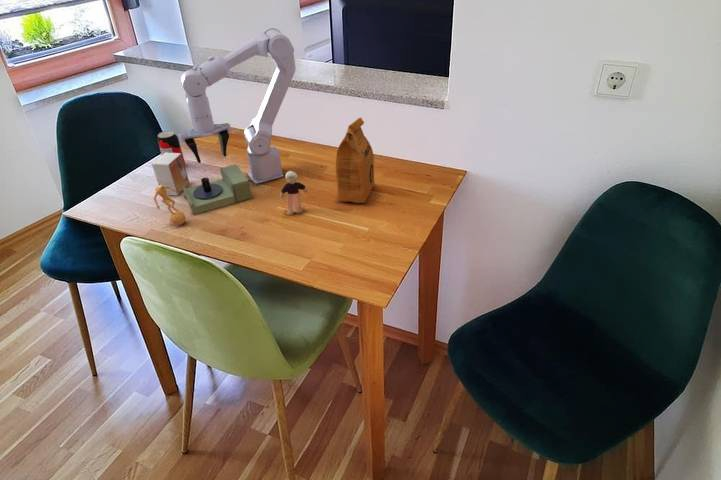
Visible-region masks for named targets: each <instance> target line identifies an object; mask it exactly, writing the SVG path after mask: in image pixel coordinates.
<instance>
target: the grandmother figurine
mask: <svg viewBox="0 0 721 480" xmlns="http://www.w3.org/2000/svg"><path fill="white" fill-rule="evenodd" d="M298 177H299V176H298V173H296V172H295V171H293V170H289V171H287V172H286V173H285V179H286V181H287V183H285V185H283V187H282V189H280V193H279V198H281V199H282V198H284V195H285V194H286V206H287V211H286V215H288V216H292V215H294V214H295V213H296V214H301V213H303V209H302V198H301V192H300V190H301V191H303V192H304V193H305V194H307V193H308V189H307V187H306V185H305V184H303V183H301V182H298Z"/></svg>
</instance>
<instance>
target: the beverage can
mask: <svg viewBox="0 0 721 480" xmlns="http://www.w3.org/2000/svg"><path fill="white" fill-rule="evenodd" d="M180 143H181V142H180V139H179V136H178V135H176V134H175V131H173V130H164V131H161V132H159V133H157V145H158V148H159V151H160V154H161V156H162V155H163V154H164V153H181V154H182V157H183V161H184V164H185V165H186V162H185V158H184V154H183V150H182V147H181V145H180Z"/></svg>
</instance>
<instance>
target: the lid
mask: <svg viewBox="0 0 721 480" xmlns="http://www.w3.org/2000/svg"><path fill="white" fill-rule="evenodd" d="M200 181H201V185H202V186H200V187H198V188H196V189H195V190H194V192H193V195H194V197H195V198H196V199H200V200H208V199H212V198H215V197H217V196H219V195H220V194H221V193H222V191H223V189H222V187H221V186H220V185H218V184H210V182H211V181H210V179H209V177H202V178H201V179H200Z"/></svg>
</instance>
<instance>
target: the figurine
mask: <svg viewBox="0 0 721 480" xmlns="http://www.w3.org/2000/svg"><path fill="white" fill-rule="evenodd" d="M167 188H169V189H171V190H172V191H174V192H176V191H175V190H174V189H172V188H170V187H169V186H163V185H161V186H159V185H158V186H156V187H155V194H154V196H153V201H154V203H155V205H156V208H157V210H160V208H161V206H160V205H159V203H158V200H157V197H158V196H160V197H161V198H162V200H161V202H162V203H163V204H164V205H166V208H167V210H168V211H169V213H170V215H169V221H170V222H171V224H173V225H175V226H181V225H183V224H184V223H185V222H186V214H185V213H184V212H183V211H181V210H179V209H176V207H175V204H176V201H175V200H174V199H173V198H172V197H171V195H167V191H166V189H167ZM176 193H177V192H176ZM177 194H178V193H177ZM171 208H172V209H173V210H172V209H171Z"/></svg>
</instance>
